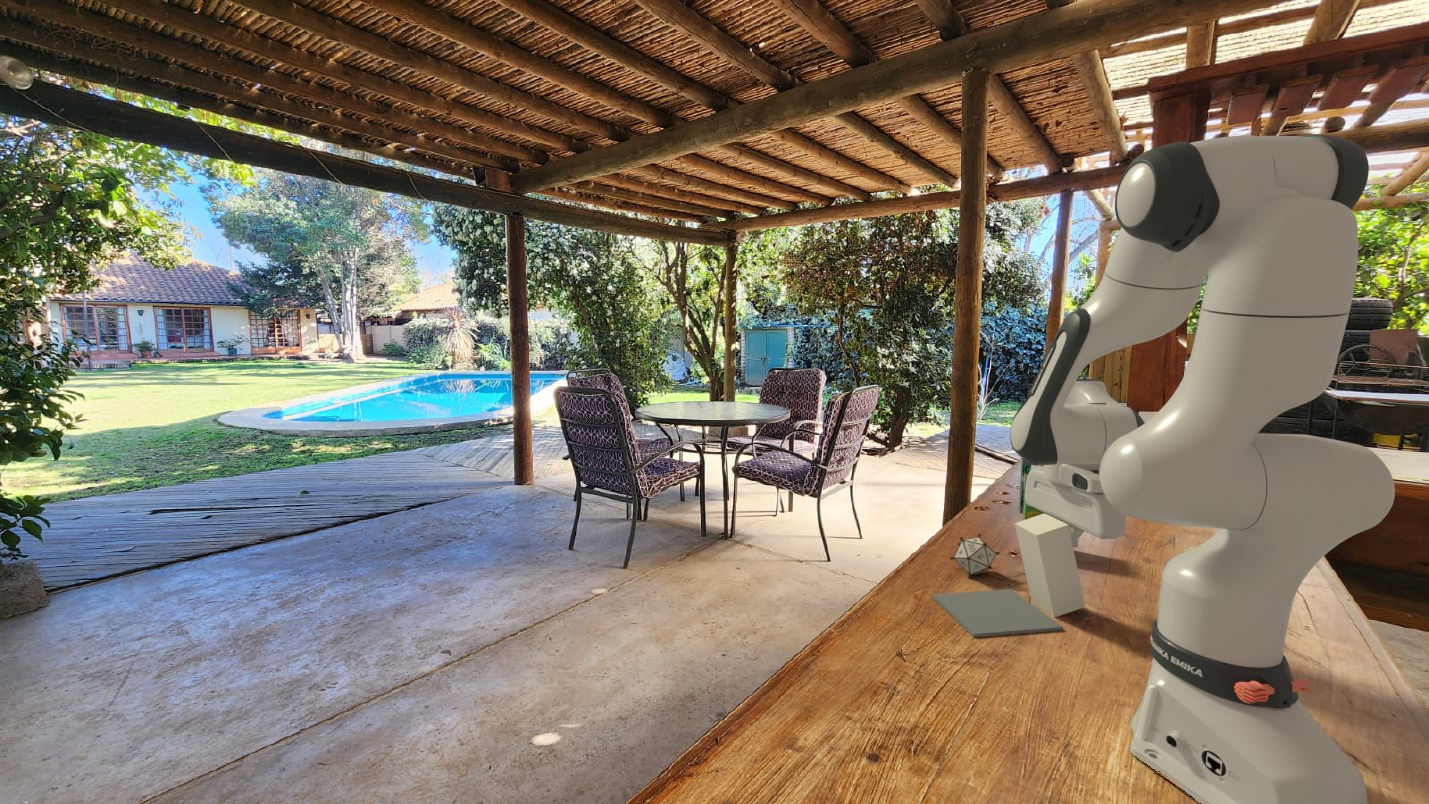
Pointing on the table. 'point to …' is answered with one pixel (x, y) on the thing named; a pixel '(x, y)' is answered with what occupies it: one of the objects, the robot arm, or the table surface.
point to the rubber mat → (995, 613)
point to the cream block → (1050, 564)
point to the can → (1023, 482)
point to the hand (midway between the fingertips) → (1067, 544)
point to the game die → (974, 555)
